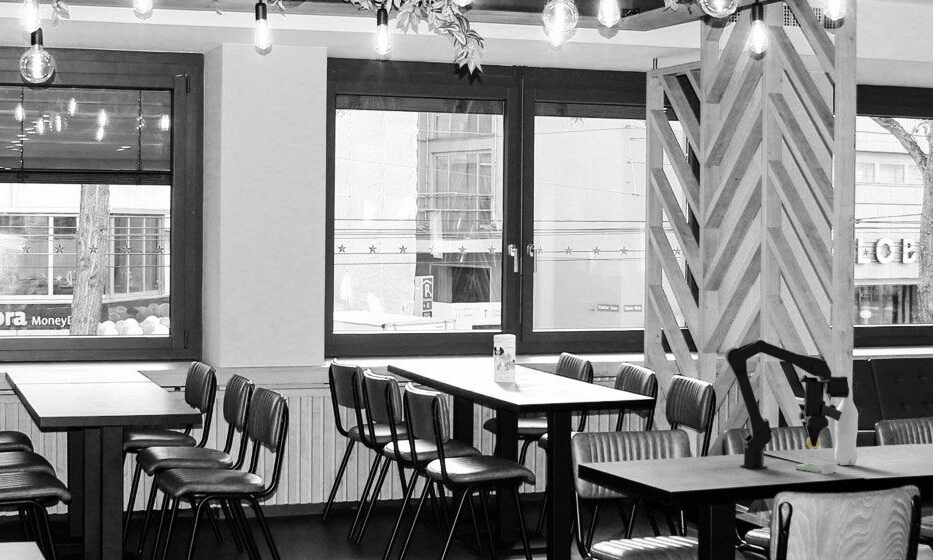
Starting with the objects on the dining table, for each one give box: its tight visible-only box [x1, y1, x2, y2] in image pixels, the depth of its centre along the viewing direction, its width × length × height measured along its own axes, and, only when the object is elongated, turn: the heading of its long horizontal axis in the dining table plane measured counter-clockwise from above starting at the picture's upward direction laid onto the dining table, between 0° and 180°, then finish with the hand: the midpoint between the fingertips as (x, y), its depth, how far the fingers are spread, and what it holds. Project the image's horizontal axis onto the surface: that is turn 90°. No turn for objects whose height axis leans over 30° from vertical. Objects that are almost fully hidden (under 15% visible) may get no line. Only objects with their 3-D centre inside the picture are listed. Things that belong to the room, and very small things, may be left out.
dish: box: [795, 462, 822, 473], centre depth 375 cm, size 8×8×1 cm
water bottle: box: [834, 388, 859, 466], centre depth 387 cm, size 7×7×25 cm
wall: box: [820, 462, 837, 475], centre depth 369 cm, size 7×1×3 cm, turn 133°
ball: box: [806, 438, 821, 450], centre depth 375 cm, size 4×4×4 cm
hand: (812, 445), depth 375 cm, fingers closed on ball, 4 cm apart
